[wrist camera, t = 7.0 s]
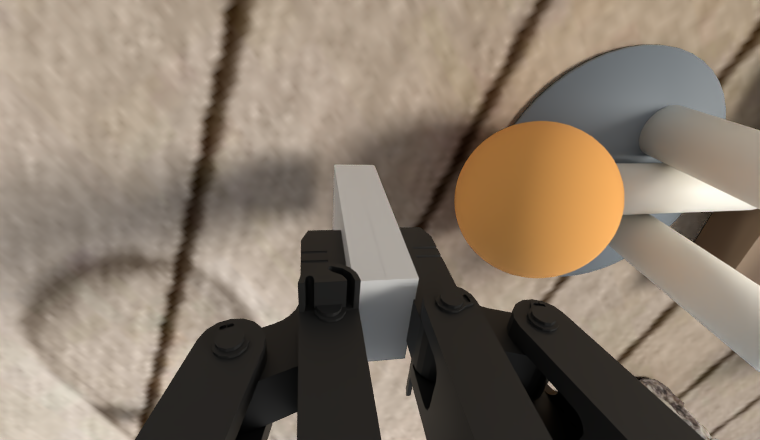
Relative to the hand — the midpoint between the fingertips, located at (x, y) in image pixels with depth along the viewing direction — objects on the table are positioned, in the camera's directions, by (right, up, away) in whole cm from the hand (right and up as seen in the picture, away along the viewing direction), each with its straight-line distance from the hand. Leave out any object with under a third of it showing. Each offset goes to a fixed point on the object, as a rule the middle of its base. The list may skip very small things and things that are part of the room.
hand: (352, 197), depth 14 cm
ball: (+7, 0, 0) cm, 7 cm away
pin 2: (+14, -1, +6) cm, 15 cm away
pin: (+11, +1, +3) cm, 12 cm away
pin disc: (+12, +1, +4) cm, 13 cm away
